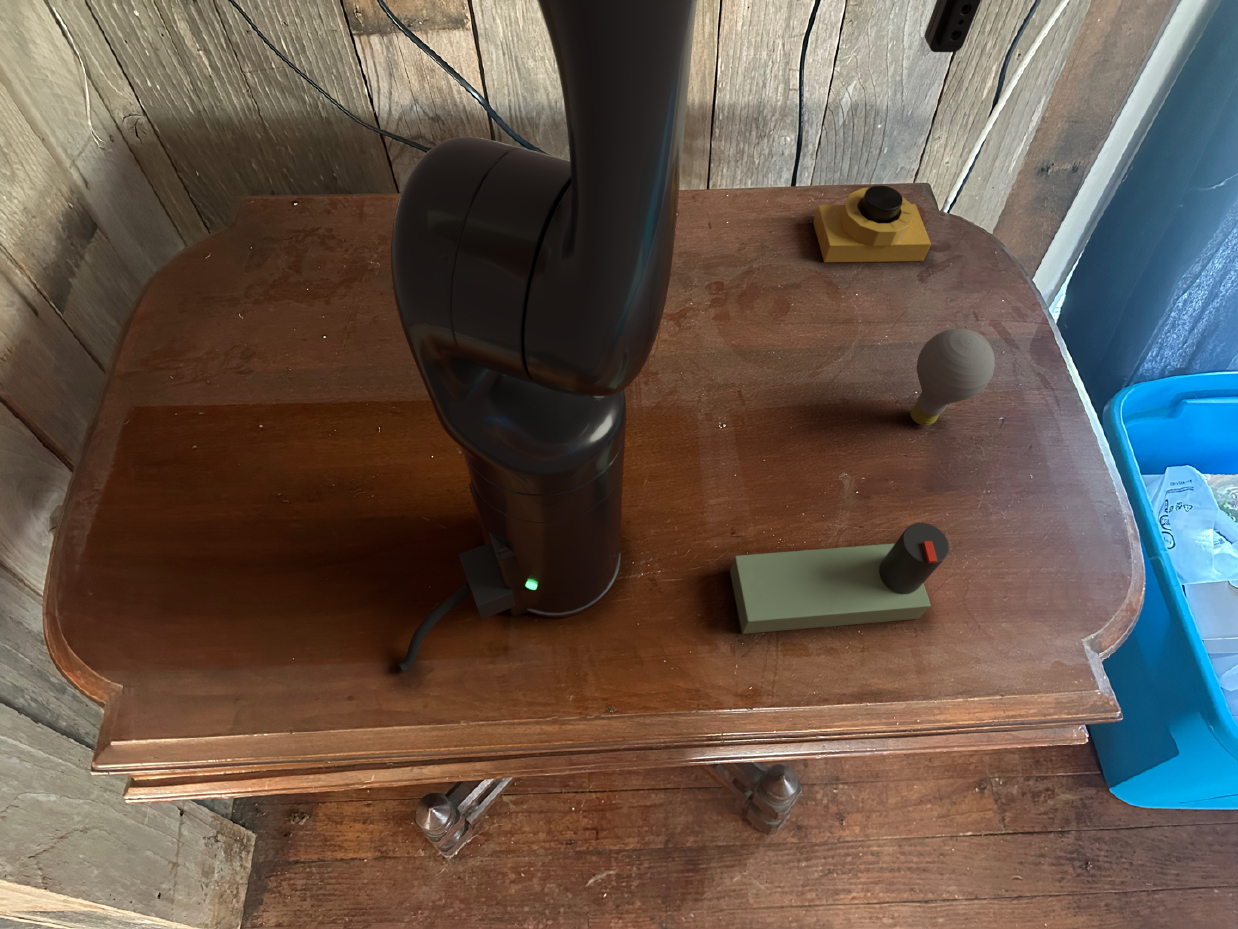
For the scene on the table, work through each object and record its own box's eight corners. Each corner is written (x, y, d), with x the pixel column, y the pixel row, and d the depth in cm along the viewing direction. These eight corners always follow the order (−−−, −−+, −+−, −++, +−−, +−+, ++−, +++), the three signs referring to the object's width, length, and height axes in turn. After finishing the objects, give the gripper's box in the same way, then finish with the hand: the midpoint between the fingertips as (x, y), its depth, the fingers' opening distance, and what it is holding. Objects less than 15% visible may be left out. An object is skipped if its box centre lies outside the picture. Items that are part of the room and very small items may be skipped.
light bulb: (955, 451, 62) (1010, 374, 54) (888, 440, 63) (933, 361, 54) (952, 400, 65) (1005, 319, 57) (889, 390, 65) (931, 308, 57)
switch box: (824, 264, 74) (835, 231, 71) (812, 220, 77) (822, 187, 74) (923, 263, 74) (939, 230, 71) (907, 219, 78) (921, 186, 74)
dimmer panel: (741, 634, 53) (747, 621, 51) (729, 570, 56) (734, 555, 54) (918, 619, 54) (931, 606, 52) (898, 556, 57) (909, 541, 55)
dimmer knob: (874, 555, 54) (899, 520, 49) (916, 554, 54) (944, 519, 50) (884, 594, 52) (910, 562, 48) (926, 593, 52) (956, 561, 48)
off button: (864, 224, 72) (869, 209, 70) (856, 200, 74) (861, 185, 72) (900, 224, 72) (907, 209, 70) (891, 199, 74) (897, 184, 72)
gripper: (963, -357, 39) (864, -3, 54) (1054, -284, 32) (911, 102, 46) (1102, -353, 40) (966, -2, 54) (1223, -280, 32) (1029, 102, 47)
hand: (941, 46), depth 50 cm, fingers closed
